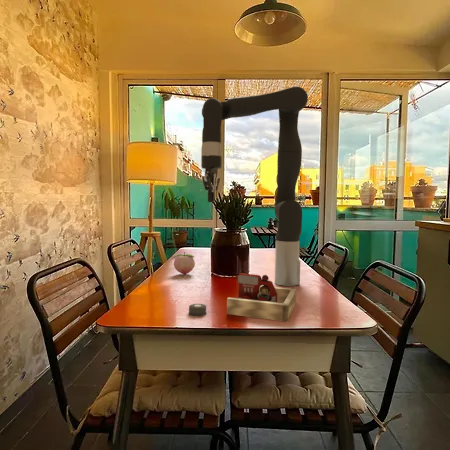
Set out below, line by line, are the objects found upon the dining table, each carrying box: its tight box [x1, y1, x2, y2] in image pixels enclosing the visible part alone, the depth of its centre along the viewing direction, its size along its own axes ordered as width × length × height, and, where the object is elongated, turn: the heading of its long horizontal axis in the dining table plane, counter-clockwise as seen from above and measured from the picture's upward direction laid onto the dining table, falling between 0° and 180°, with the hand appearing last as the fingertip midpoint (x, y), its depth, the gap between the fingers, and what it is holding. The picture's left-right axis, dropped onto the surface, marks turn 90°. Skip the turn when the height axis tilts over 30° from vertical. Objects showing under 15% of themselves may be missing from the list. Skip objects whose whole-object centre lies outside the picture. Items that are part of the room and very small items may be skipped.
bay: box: [226, 286, 297, 322], centre depth 102 cm, size 18×18×4 cm
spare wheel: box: [188, 303, 207, 317], centre depth 97 cm, size 5×5×2 cm
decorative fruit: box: [173, 252, 196, 275], centre depth 147 cm, size 9×8×10 cm
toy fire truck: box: [236, 272, 278, 303], centre depth 103 cm, size 7×12×10 cm, turn 70°
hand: (211, 202), depth 126 cm, fingers closed
